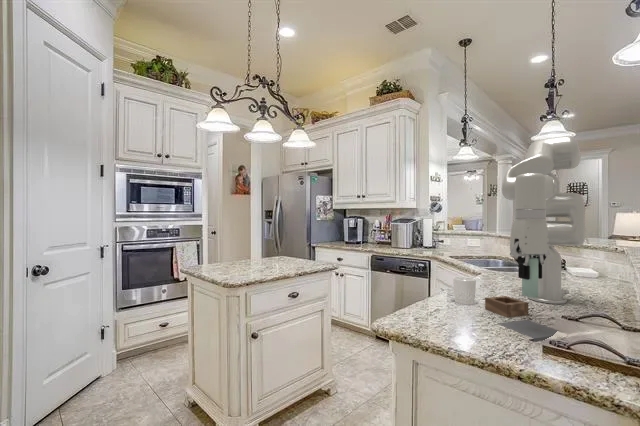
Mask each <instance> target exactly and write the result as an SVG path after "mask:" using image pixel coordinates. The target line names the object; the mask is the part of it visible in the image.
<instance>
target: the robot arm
mask: <svg viewBox="0 0 640 426" xmlns="http://www.w3.org/2000/svg"><path fill="white" fill-rule="evenodd" d="M580 149H581V148H580V144H579V142H578V140H577V139H576V138H575V137H573V136H570V135H566V136H565V135H564V136H558V137H557V136H555V137H549V138H541V139H537V140H534V141H533V142H532V143H531V144H530V145H528V149H527V151H526V152H527V153H526V154H525V155H524V159H523V160H522V161H521V162H518V163H517V164H514V165H513V166H511V167H510V168H509V169H508V170H507V171H506V172H505V175H504V178H503V180H502V184H501V193H502V195H503V198H505V199H506V200H510V201H514V220H512V224H511V229H510V236H509V237H510V239H509V251H510V252H509V256H511V258H513V259H514V260H515V262H516V264H517V266H518V267H517V268H518V269H517V273H518V278H519V279H521V280H522V279H527V280H529V279H530V266H528V260H529V257H532V258H538V292H539V297H527V298H528V299H530V300H531V301H535V302H537V303H545V304H552V305H553V304H554V305H555V304H556V305H563V304H566V303H567V298H565V297H563V296H564V295H568V294H570V290H569V289H567V288H564V289H563V288H562V256H561V254H560V253H559V251H558V250H557V249H556V248H555V247H554V246H566V247H570V246H571V247H579V246H582V245H583V244H584V243H585V240H586V208H585V207H586V205H585V199H584V197H583V196H582V194H580V193H576V192H560V191H561V190H560V188H561V186H560V185H561V184H560V182H561V181H560V179H559V178H558V177H557V175H555V174H554V173H553V172H552V171H557V170H559V171H560V170H572V169H576V167H579V164H580V163H581V151H580ZM547 218H567V219H568V220H547ZM522 257H524V259H523V258H522Z"/></svg>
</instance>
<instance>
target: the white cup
mask: <svg viewBox="0 0 640 426" xmlns="http://www.w3.org/2000/svg"><path fill="white" fill-rule="evenodd" d="M452 280H453V281H452V282H453V297H454V302H455V303H456V304H459V305H466V306H467V305H470V306H471V305H474V304H475V302H476V300H475V299H476V290H477V289H476V285H477V279H476V278H475V277H471V276H453V278H452Z"/></svg>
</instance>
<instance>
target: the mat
mask: <svg viewBox="0 0 640 426" xmlns="http://www.w3.org/2000/svg"><path fill="white" fill-rule="evenodd" d="M496 324H497V325H499V326H502V327H505V328H507V329H510V330H512V331H514V332H517V333H519V334H521V335H524V336H526V337H529V339H527V340H528V341H531V342H533V343H536V342H543V340H544V341H546V340H545V339H547V338H549V337H551V336H553V335H554V334H555V333H556V332H557V331H559V330H557V329H555V328H553V327H550V326H546V325H544V324H541V323H538V322H536V321H532V320H530V319H523V320H521V319H520V320H513V321H506V322H505V321H504V322H498V323H496Z"/></svg>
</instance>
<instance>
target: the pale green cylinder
mask: <svg viewBox="0 0 640 426" xmlns="http://www.w3.org/2000/svg"><path fill="white" fill-rule="evenodd" d="M522 258H523V259H524V256H522ZM528 266H530V279H529V280H527V279H522V278H521V294H522V295H521V296H524V297H527V298H528V297H539V292H538V258H532V257H531V256H529V260H528Z"/></svg>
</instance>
